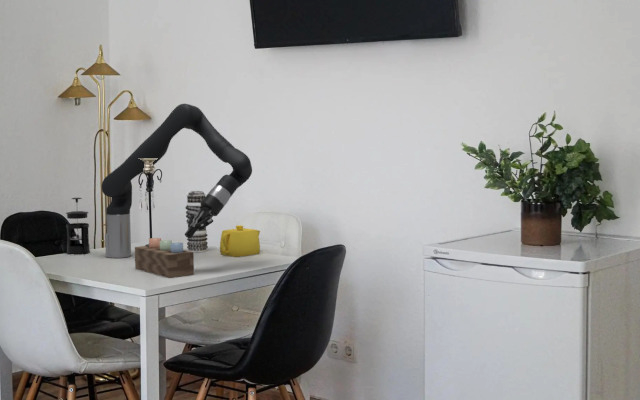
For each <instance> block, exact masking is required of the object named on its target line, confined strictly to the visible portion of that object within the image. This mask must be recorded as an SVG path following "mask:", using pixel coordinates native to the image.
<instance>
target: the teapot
mask: <svg viewBox="0 0 640 400" xmlns="http://www.w3.org/2000/svg"><path fill="white" fill-rule="evenodd" d="M260 232H261V230H257V229H254V228H245V227H244V225H242V224H241V225H235V228H231V229H225V230H222V231H221V233H220V235H221V236H220V241H219V252H220V255H222V256H225V257H234V258H241V257H250V256H255V255H260V250H261V243H260V237H259V236H260Z"/></svg>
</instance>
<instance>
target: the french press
mask: <svg viewBox="0 0 640 400" xmlns="http://www.w3.org/2000/svg"><path fill="white" fill-rule="evenodd" d="M71 200H75V203H76V206H78V203H79V200H83V198H82V197H72V198H71ZM65 214H66V216H67V217H66V218H67V219H73V220H74V219H75V220H76V222H72V223H67V224H66V225H65V226H66V237H67V238H66V239H67V244H66V255H71V254H74V255H87V254H90V253H91V250H90V244H89V243H90V242H89V241H90V239H89V227H90V223H88V222H79V219H87V218H88V214H89V212H88V211H83V210H78V208H76V210H73V211H69V212H68V211H67V212H65ZM76 229H77V230H76ZM79 229H81V230H80V232H81V235H80V234H79ZM75 230H76V231H77V235H75ZM76 241H81V243H76Z"/></svg>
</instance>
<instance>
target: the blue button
mask: <svg viewBox="0 0 640 400" xmlns="http://www.w3.org/2000/svg"><path fill="white" fill-rule="evenodd" d="M183 250H184V242H180V241H179V242H172V243H171V253H182V252H183Z"/></svg>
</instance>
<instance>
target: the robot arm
mask: <svg viewBox="0 0 640 400" xmlns="http://www.w3.org/2000/svg"><path fill="white" fill-rule="evenodd" d="M184 129H186V130H191V131H193V132H195V133H196V134H197V135H199V136H200V137H201V138H202V139H203V140H204V142H205V143H206V145H207V147H208V148H209V150H210V151H211V152H212V153H213V154H214V155H215V157H217V158H218V159H219V160H220V161H222V162H224V163H226V164H227V163H228V164H229V165H230V166H231V168H232V171H231V173H229V174H224V175H223V176H222V177H221V178H220V179H219V180H218V181H217V182H216V184H215V185H214V186H213V187H212V188H211V189H210V190H209V192H208V193H207V194H205V198H204V199H203V200H202V202H201V204H200V205H201V209H200V210H198V212H197V214H195V215H194V214H193V213H192V214H191V216H190V220H189V225H190V228H189V229H188V228H187V230H186V232H185V233H184V236H185V237H186V238H187V239H188V238H191V237H192V236H193V235H194V233H195V232H196V231H198V230H199V229H200V230H202V229H203V228H205V227H206V228H207V227H208V226H209V225H210V224H212V223H214V220H213V217H218V215H219V214H220V213H221V211H222V210H223V209H224V208H225V206H226V205H227V204H228V202H229V200H230V199H231V197H232V196H233V195H234V193H235V192H236V191H237V190H238V188H240V187H241V186H243V185H244V184H245V183H246V182H247V181H248V180H249V179H250V177H251V176H252V173H253V167H252V163H251V159H250V158H249V156H248V154H246V153H244V152H243V151H242V150H240V149H238V148H236V147H235V146H234V145H233V144H232V142H230V141H228V140H227V139H226V137H224V136H223V135H222V133H220V132H219V131H218V130H217V129H216V128H215V127H214V125H213V124H212V123H211V122H210V121H209V119H208V118H207V117H206V115H205V114H204V112H203V111H202V109H200V108H199V107H197V106H195V105H192V104H188V103H180V104H178V105H177V106H175V108H174V109H173V110H171V112H170V114H169V115H168V116H167V117H166V119H165V120H164V121H163V122H161V124H160V125H159V126H158V127H157V128H156V129H155V130H154V131H153V132H152V133H151V134H150V136H148V137H147V138H146V139H145V140H143V142H142V143H141V144H140V145H139V146H138V147H137V148H136V149H135V150H134V151H133V152H132V153H131V154H130V155H129V156H128V157H127V158H126V159H125V160H124V161H123V162H122V164H120V165H119V166H118V167H117V168H115V169H114V170H113V171H111V172H110V173H109V174H107V176H105V177H104V178H103V180H102V183H101V192H102V194H103V195H104V196H106V197H109V198H110V199H111V200H110V203H109V204H108V206H107V207H106V210H105V211H106V212H105V213H106V214H105V215H106V233H105V234H104V236H105V237H104V238H105V239H104V240H105V257H106V258H113V259H118V258H119V259H120V258H122V259H123V258H129V257H131V256H132V240H131V239H132V238H131V237H132V236H131V235H132V233H131V232H132V231H131V208H132V204H133V184H132V180H133V179H134V178H135V177H137V176H139V175H140V174H143V173H144V172H143V168H144V162H143V161H142V160H140V159H138V158H158V159H157V160H155V161H154V162H153V166H154V165H156V163H158V162H159V161H161V159H162V158H163V157H164V156H165V154H166V153H167V151H168V148H169V146H170V143H171V140H172V139H173V138H174V137H175V136H176V135H177V134H178V133H179V132H180V131H181V130H184Z"/></svg>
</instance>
